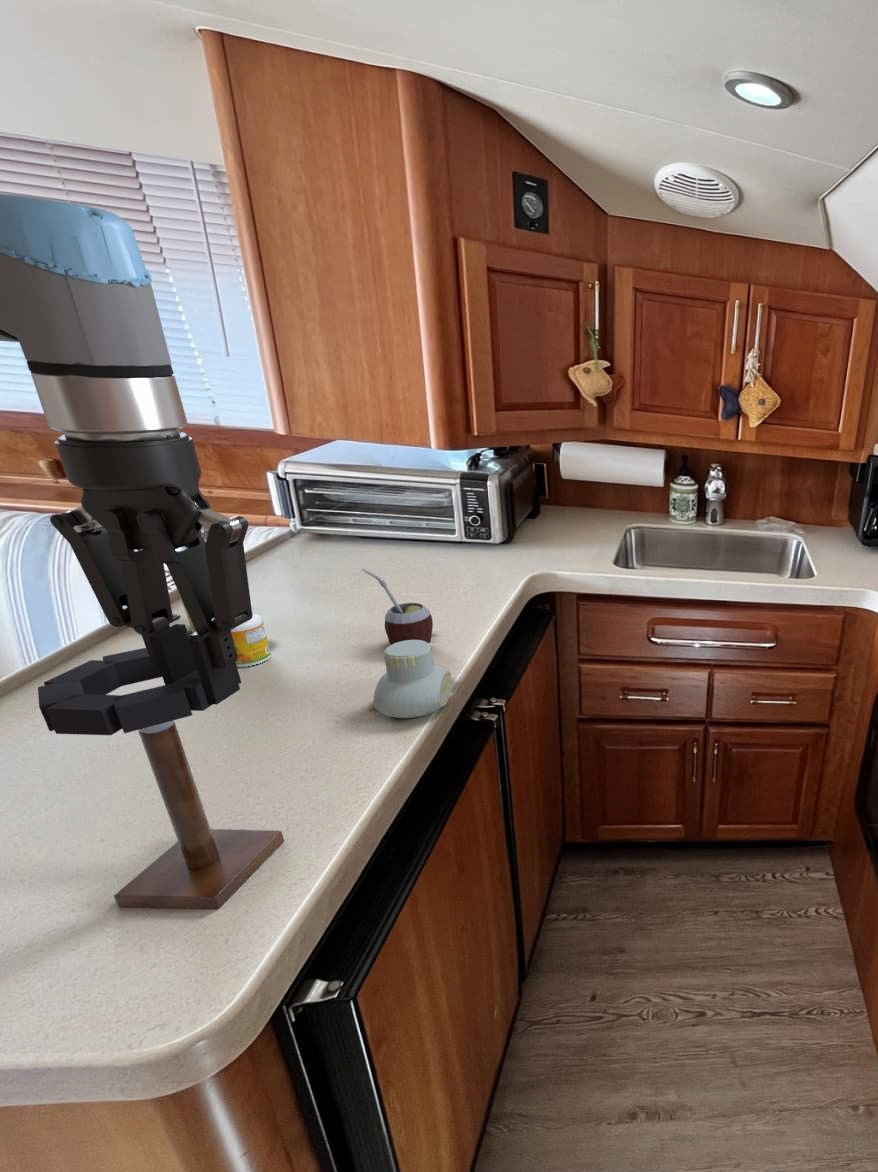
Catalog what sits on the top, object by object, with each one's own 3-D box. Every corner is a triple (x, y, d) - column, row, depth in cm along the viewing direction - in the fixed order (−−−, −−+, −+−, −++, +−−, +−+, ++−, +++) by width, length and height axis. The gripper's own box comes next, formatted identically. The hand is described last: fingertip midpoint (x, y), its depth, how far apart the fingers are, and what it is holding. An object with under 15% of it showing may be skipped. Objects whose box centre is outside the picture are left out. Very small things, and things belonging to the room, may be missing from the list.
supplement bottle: (220, 663, 101) (204, 608, 98) (256, 650, 106) (241, 596, 103) (244, 670, 100) (229, 614, 96) (280, 656, 105) (266, 602, 101)
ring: (1, 732, 51) (-11, 707, 50) (138, 662, 63) (131, 640, 62) (163, 737, 52) (154, 712, 51) (269, 667, 64) (264, 646, 63)
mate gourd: (443, 651, 111) (431, 570, 106) (393, 665, 105) (378, 581, 100) (425, 637, 115) (413, 559, 110) (376, 650, 110) (361, 568, 104)
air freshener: (438, 725, 91) (429, 664, 87) (373, 730, 89) (360, 667, 85) (456, 687, 101) (448, 630, 97) (397, 690, 98) (387, 632, 95)
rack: (118, 907, 60) (52, 754, 54) (196, 839, 68) (148, 699, 62) (219, 909, 61) (166, 757, 54) (284, 841, 69) (245, 702, 63)
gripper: (265, 433, 53) (322, 679, 62) (65, 419, 52) (152, 672, 60) (190, 446, 46) (266, 721, 55) (-43, 431, 45) (72, 715, 54)
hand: (206, 695), depth 58 cm, fingers closed on ring, 2 cm apart
